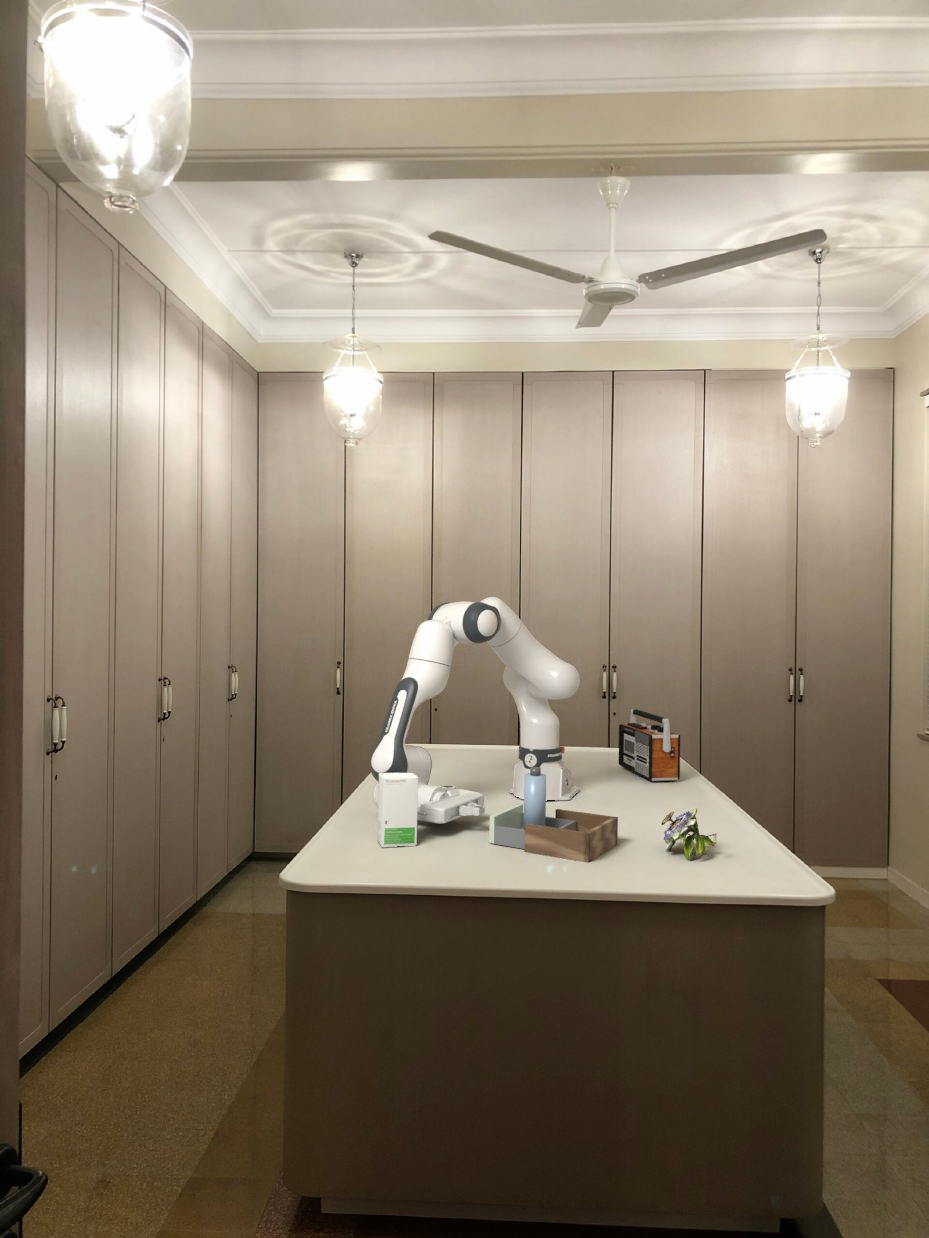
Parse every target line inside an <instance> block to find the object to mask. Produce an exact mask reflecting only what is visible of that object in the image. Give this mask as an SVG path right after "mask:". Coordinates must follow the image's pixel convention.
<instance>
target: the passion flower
mask: <svg viewBox="0 0 929 1238" xmlns="http://www.w3.org/2000/svg"><path fill="white" fill-rule="evenodd" d="M697 812H698V808H694V809H693V810H692V811H689V810H688V811H686V812H683V814H682V813H681V814H680V815H679V814H678V816H675V819H674V820H673V819H672V818H673V815H675V811H671V812H669V814H667V815H666V816H665V817H664V818H663V820H662V821H661V825H662V826H664V825H665V824H666V823H667V822H671V823H669V825H668V828H666V830H664V832H663V833H664V837H663V840H664V842H665V843H666V848H665V849H664V850H665V851H666V852H667V851H668V852H671V851H672V849H673V847H674V846H675V844H676V842H677V841H679V840H680V842H681V844H682V846H683V849H684V857H685V858H686V860H688V861H689V862H690V861H692V860H691V859H692V855H693V852H694V840H695V857H696V858H697V859H698V858H699V857H701V856H702V855H707V853H706V852H707V851H708V847H709V846H712V847H716V846H715V845H716V844H717V834H718V833H712V834H708V835H704V834H700V829H699V824H698V820H697V817H696V815H697ZM690 833H692V834H690ZM710 837H713V840H712V839H711V838H710Z"/></svg>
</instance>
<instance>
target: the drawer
mask: <svg viewBox="0 0 929 1238" xmlns="http://www.w3.org/2000/svg"><path fill="white" fill-rule="evenodd" d="M523 823H524V803H518V804H515V805H512V806H510V807H508V808H505V809H503V810H500V811H498V812H496V813H494V814H492V815H491V814H490V816H489V825H488V826H489V831H488V834H489V837H488V839H489V844H494V845H497V846H498V845H499V846H505V847H511V848H517V849H522V850H524V834H525V830H523ZM576 825H577V821H574V820H567V819H560V818H555V817H552V816H546V819H545V826H547V827H554V828H561V829H567V830H574V831H576Z"/></svg>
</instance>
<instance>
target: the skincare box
mask: <svg viewBox="0 0 929 1238" xmlns="http://www.w3.org/2000/svg"><path fill="white" fill-rule="evenodd" d="M378 783H379V794H378V808H377V827H376V828H377V829H376V831H377V832H376V835H377V837H376V838H377V839H376V840H377V843H379V845H380V847H381V848H397V846H405V847H414V846H413V845H417V844H418V840H417V839H418V820H417V808H418V777H417V776H416V775H415V774H413V773H379V782H378Z"/></svg>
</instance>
